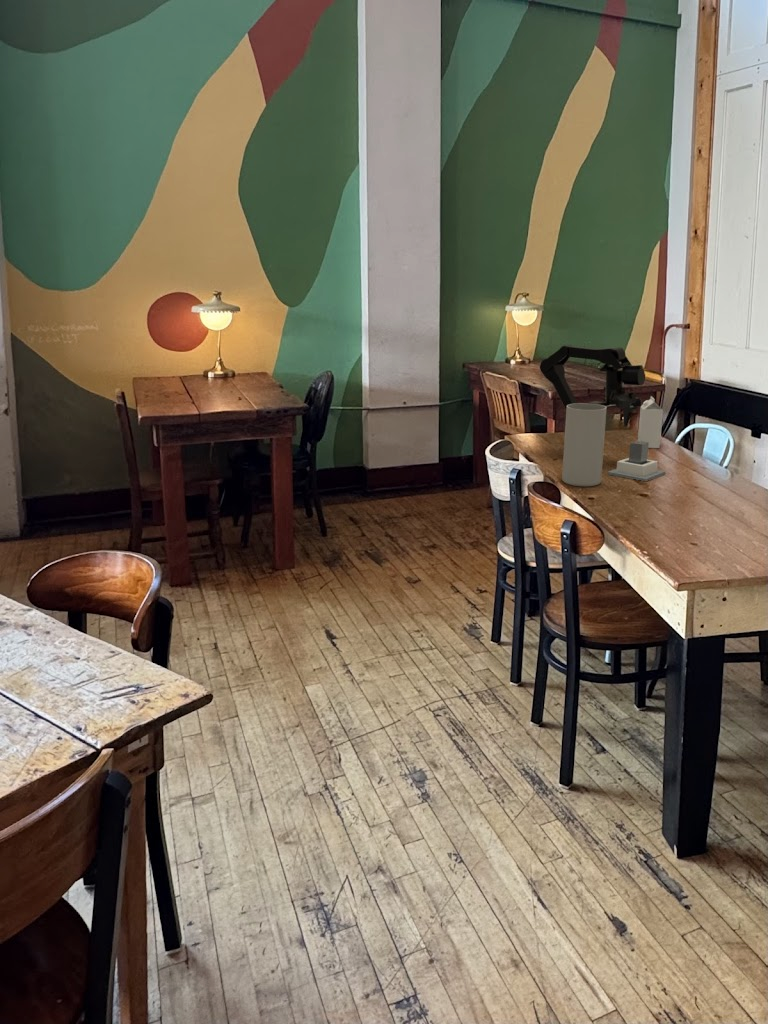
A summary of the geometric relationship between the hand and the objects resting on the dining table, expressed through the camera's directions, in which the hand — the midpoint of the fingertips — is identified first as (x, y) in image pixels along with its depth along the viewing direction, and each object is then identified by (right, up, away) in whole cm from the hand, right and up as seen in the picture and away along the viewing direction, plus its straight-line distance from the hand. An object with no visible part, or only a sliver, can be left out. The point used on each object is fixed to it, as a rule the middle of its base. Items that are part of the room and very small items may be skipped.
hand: (614, 428), depth 311 cm
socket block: (+5, -17, -11) cm, 21 cm away
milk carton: (+21, -4, +30) cm, 37 cm away
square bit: (+5, -16, -11) cm, 20 cm away
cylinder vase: (-16, -20, -21) cm, 33 cm away
